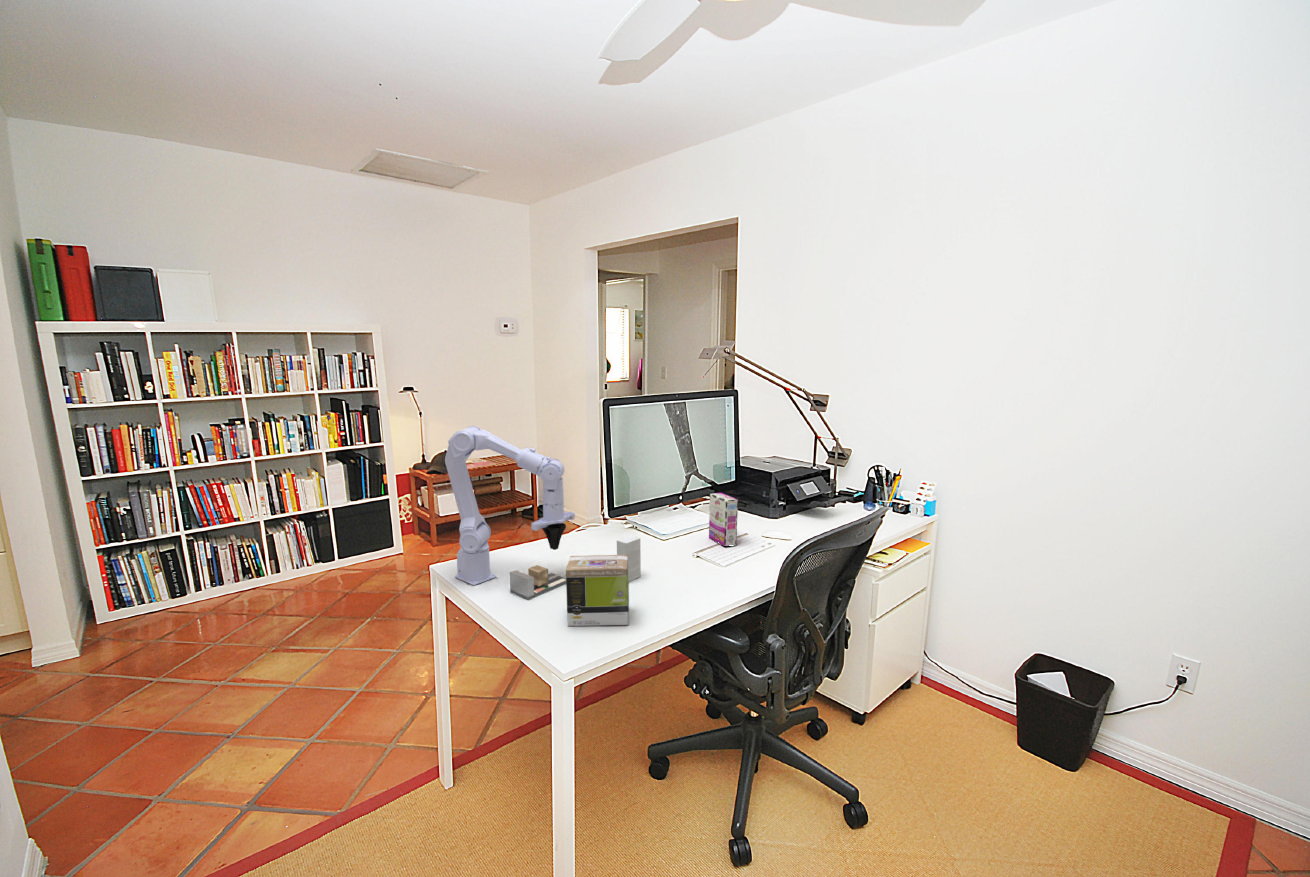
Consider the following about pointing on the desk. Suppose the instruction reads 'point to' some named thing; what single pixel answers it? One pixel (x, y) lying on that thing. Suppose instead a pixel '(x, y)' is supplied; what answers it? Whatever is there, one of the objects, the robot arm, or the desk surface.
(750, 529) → the desk surface
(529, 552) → the desk surface
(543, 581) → the gauge slider
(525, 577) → the gauge bed
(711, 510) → the candy bar box
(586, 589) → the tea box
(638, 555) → the skincare box
